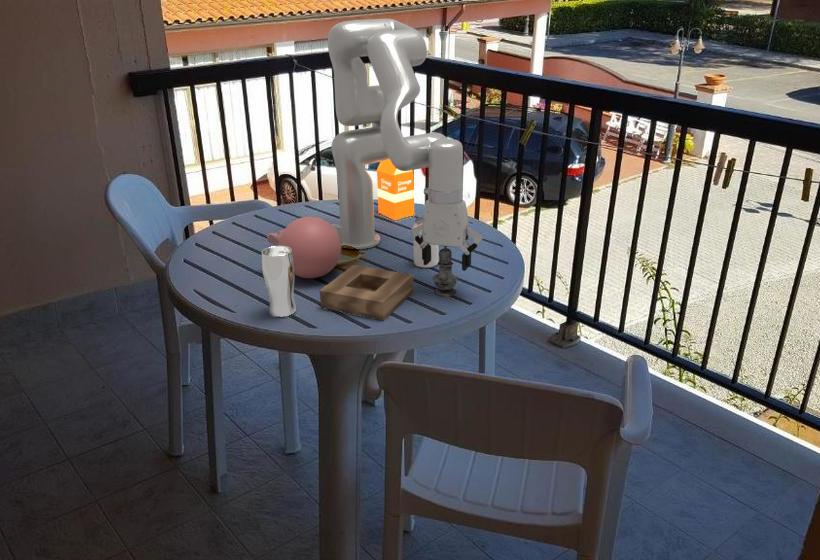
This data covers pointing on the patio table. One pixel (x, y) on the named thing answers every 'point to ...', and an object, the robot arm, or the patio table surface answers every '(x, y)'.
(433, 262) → the can
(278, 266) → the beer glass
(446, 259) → the grey chess piece
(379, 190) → the orange juice
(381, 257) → the patio table surface
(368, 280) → the socket block
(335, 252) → the pink party balloon
